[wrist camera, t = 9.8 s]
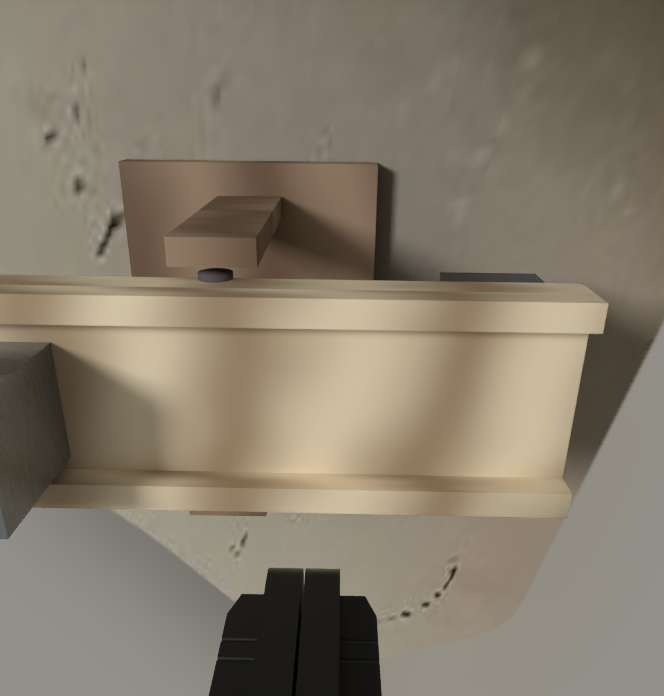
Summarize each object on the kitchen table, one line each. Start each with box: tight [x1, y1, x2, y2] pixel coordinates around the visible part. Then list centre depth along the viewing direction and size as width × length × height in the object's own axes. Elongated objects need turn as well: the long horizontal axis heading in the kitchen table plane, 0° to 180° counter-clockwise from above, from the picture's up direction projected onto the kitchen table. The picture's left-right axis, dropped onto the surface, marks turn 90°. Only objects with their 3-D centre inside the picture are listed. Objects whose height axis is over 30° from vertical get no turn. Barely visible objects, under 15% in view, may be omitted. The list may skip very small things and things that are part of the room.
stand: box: [119, 160, 378, 516], centre depth 27 cm, size 12×14×10 cm
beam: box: [0, 268, 609, 518], centre depth 23 cm, size 25×8×8 cm, turn 89°
